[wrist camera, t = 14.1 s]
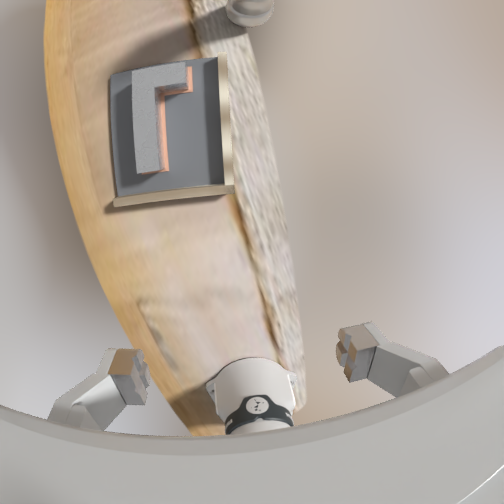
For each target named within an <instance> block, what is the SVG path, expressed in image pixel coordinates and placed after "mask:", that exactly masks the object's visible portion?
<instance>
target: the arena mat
mask: <svg viewBox="0 0 504 504" xmlns="http://www.w3.org/2000/svg"><path fill="white" fill-rule="evenodd" d="M180 62H186V65H187V68H188V73H189V89H187V90H180V91H172V92H166V93H161V114H162V132H163V146H164V159H165V169H162V170H158V171H151V172H145V173H138V174H137V168H136V158H135V146H134V131H133V111H132V71H135V70H139V69H144V68H149V67H155V66H160V65H166V64H173V63H180ZM110 98H111V129H112V145H113V157H114V168H115V177H116V185H117V193H118V196H124V195H130V194H137V193H144V192H151V191H159V190H167V189H175V188H184V187H193V186H203V185H213V184H225V181H224V167H223V151H222V135H221V118H220V99H219V79H218V57H214V58H202V59H193V60H184V61H177V62H170V63H164V64H158V65H152V66H147V67H142V68H137V69H133V70H128V71H124V72H120V73H116V74H112V75H111V84H110Z"/></svg>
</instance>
